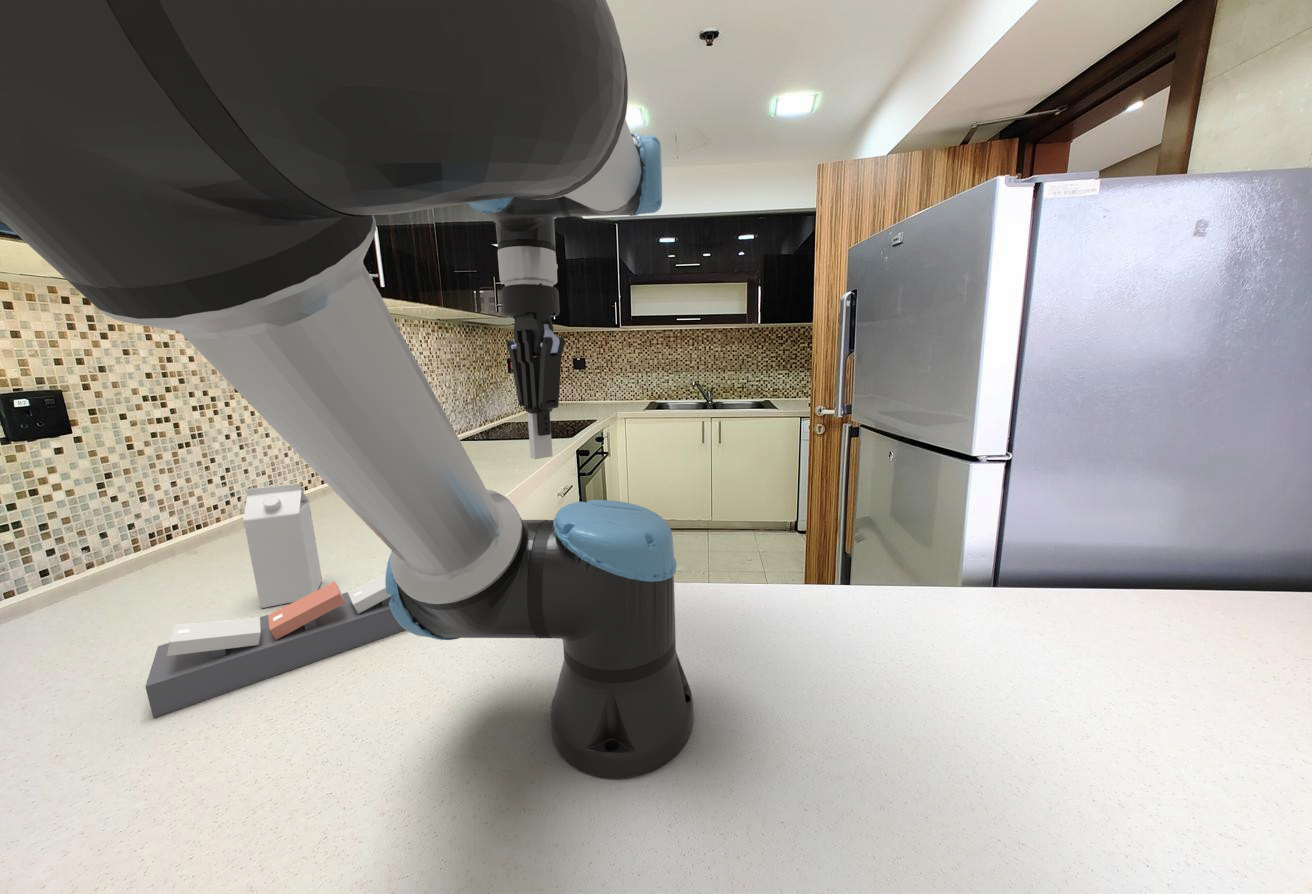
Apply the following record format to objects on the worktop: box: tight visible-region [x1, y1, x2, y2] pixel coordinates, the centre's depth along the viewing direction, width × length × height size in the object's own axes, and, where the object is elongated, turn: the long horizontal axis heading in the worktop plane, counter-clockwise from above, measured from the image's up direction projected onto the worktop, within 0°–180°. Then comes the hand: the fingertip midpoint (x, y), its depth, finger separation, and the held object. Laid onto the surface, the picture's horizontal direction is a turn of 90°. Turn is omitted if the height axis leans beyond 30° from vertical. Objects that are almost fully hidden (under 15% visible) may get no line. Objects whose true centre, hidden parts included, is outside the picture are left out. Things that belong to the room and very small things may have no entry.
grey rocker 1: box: [167, 616, 261, 656], centre depth 58 cm, size 5×8×2 cm, turn 130°
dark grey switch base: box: [144, 591, 406, 719], centre depth 67 cm, size 10×36×5 cm, turn 130°
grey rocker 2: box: [347, 572, 392, 614], centre depth 69 cm, size 5×8×2 cm, turn 130°
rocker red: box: [267, 581, 345, 640], centre depth 64 cm, size 5×8×2 cm, turn 130°
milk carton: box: [242, 483, 323, 609], centre depth 79 cm, size 7×7×19 cm
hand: (541, 456), depth 69 cm, fingers closed
